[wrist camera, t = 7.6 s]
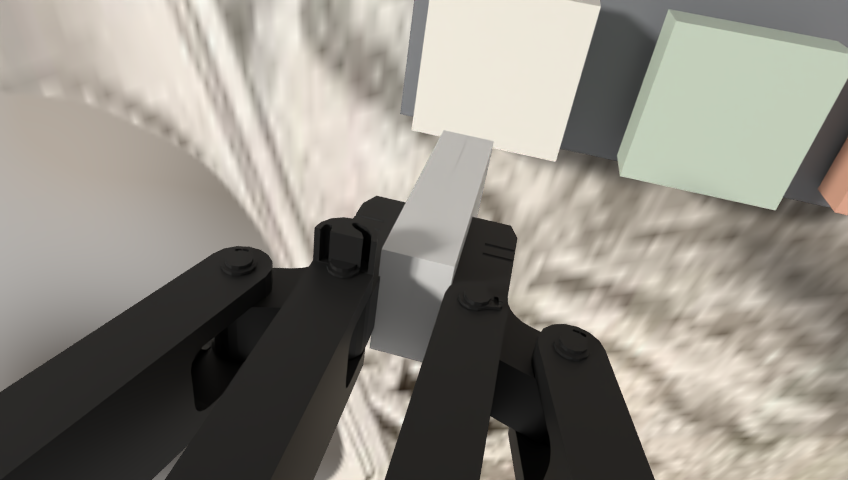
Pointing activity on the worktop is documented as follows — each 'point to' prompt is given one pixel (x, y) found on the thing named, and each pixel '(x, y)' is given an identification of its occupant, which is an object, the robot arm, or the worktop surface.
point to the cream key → (503, 70)
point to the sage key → (730, 108)
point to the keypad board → (629, 59)
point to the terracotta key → (837, 182)
